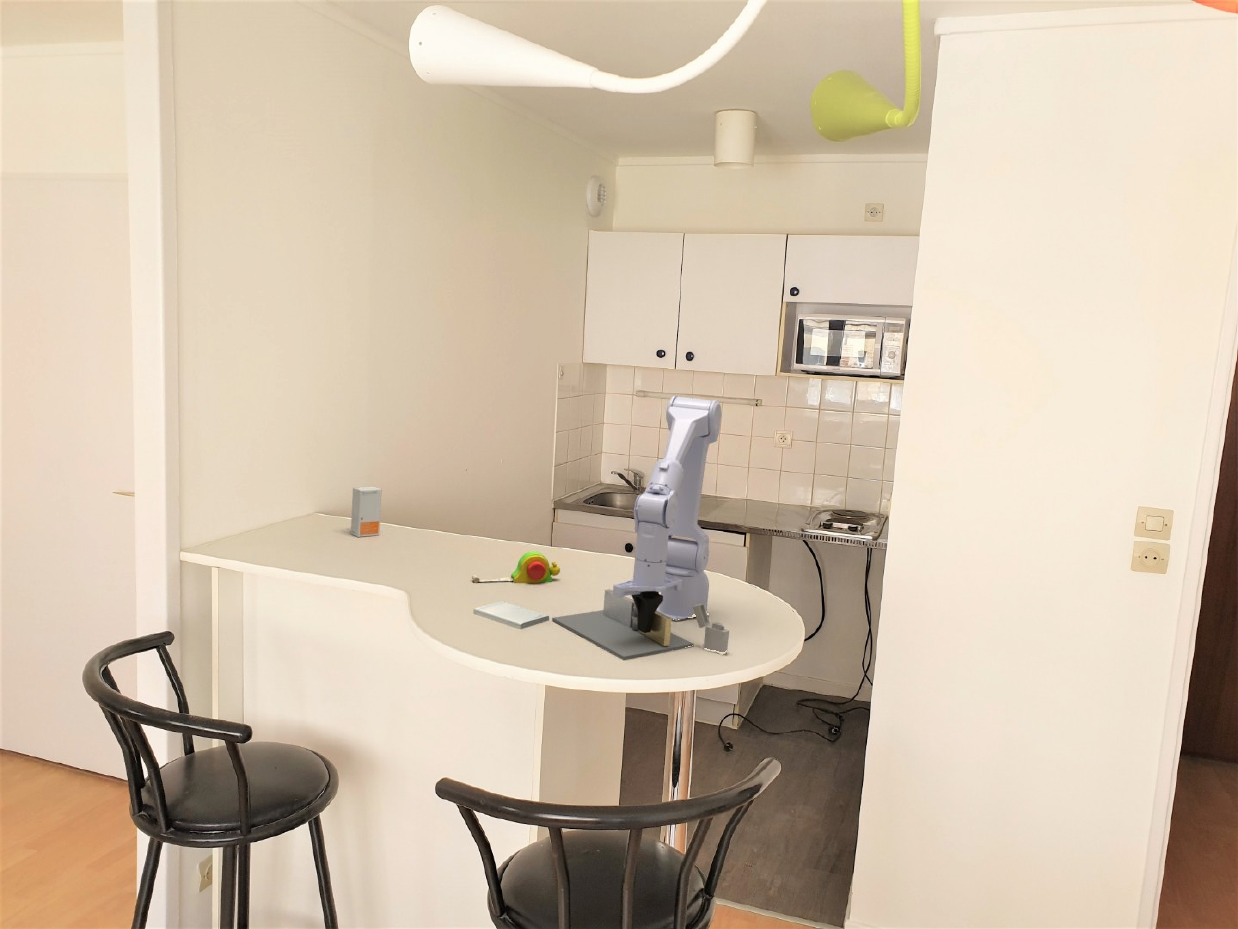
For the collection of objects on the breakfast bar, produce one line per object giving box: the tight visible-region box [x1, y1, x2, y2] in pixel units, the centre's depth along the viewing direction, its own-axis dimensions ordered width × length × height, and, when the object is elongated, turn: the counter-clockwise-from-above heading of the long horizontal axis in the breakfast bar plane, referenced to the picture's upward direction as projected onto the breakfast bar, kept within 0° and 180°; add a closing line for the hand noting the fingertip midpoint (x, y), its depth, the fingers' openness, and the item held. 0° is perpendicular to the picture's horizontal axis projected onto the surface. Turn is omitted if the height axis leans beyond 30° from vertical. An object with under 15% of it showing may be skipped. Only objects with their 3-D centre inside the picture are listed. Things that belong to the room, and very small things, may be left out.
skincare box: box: [350, 486, 383, 538], centre depth 235 cm, size 6×4×12 cm
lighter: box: [693, 603, 730, 652], centre depth 170 cm, size 7×2×8 cm, turn 54°
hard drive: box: [472, 600, 550, 630], centre depth 180 cm, size 2×8×12 cm
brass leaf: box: [633, 603, 673, 646], centre depth 172 cm, size 11×2×5 cm, turn 31°
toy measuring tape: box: [471, 550, 561, 584], centre depth 204 cm, size 6×19×7 cm, turn 109°
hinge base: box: [551, 588, 694, 661], centre depth 175 cm, size 16×23×6 cm
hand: (644, 631), depth 171 cm, fingers closed
